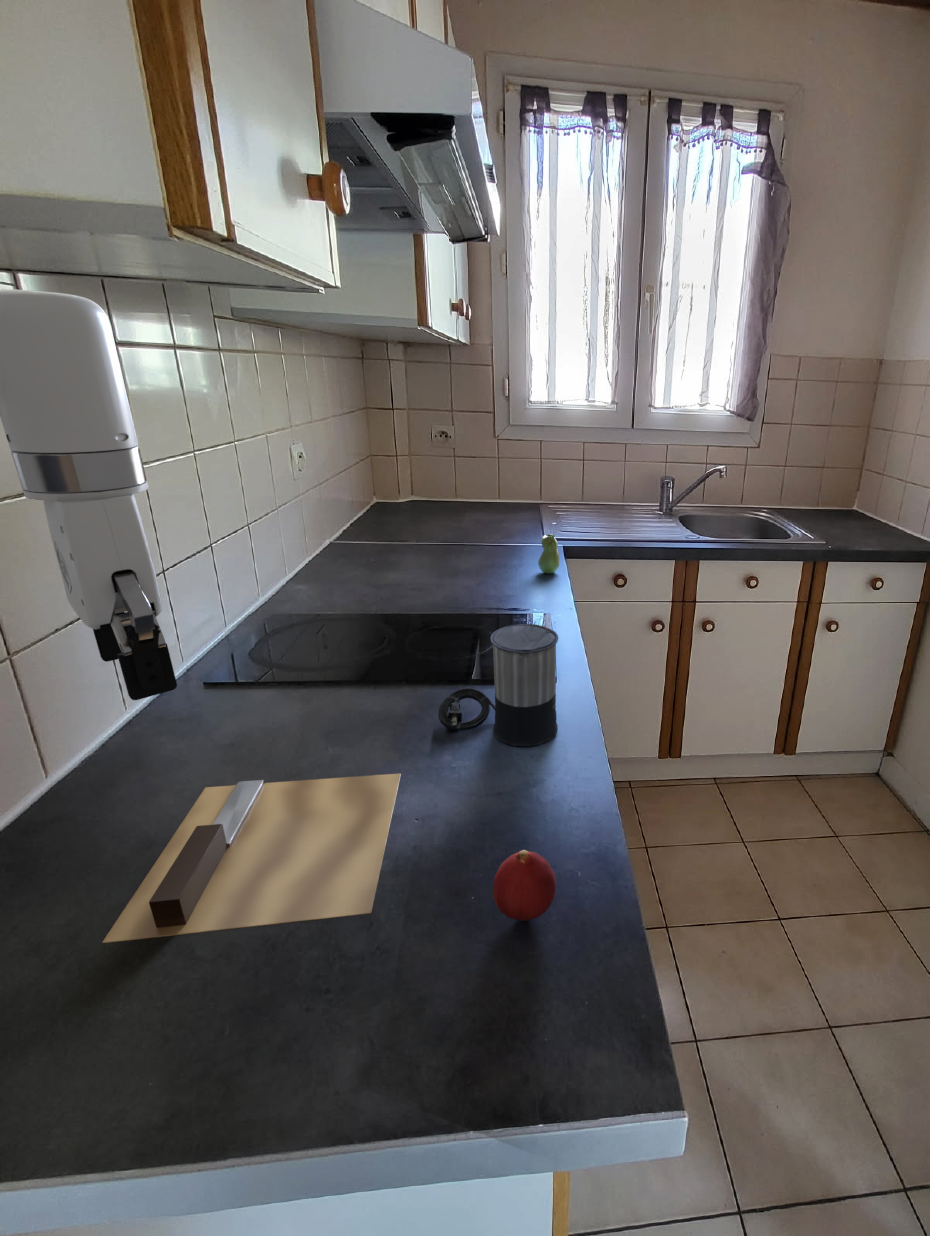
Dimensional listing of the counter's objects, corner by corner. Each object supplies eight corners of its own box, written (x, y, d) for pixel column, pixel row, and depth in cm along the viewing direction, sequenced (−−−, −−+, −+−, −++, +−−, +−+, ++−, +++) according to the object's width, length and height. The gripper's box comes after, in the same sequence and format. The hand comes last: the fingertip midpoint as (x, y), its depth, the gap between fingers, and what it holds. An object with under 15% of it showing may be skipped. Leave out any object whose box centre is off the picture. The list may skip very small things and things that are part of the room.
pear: (558, 576, 159) (558, 537, 156) (537, 575, 159) (537, 536, 156) (559, 570, 165) (560, 532, 161) (539, 569, 164) (539, 531, 161)
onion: (511, 887, 64) (509, 822, 61) (564, 901, 63) (565, 836, 60) (483, 931, 59) (480, 863, 56) (541, 949, 58) (540, 879, 55)
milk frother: (567, 740, 90) (568, 644, 84) (454, 764, 83) (448, 662, 78) (535, 695, 102) (534, 608, 96) (434, 713, 95) (427, 621, 90)
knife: (188, 924, 57) (181, 898, 56) (153, 928, 56) (145, 902, 55) (264, 782, 76) (260, 761, 75) (238, 784, 75) (234, 763, 74)
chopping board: (105, 955, 55) (100, 943, 55) (207, 797, 75) (205, 787, 75) (372, 925, 59) (371, 913, 59) (402, 783, 79) (401, 772, 79)
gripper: (3, 462, 51) (63, 655, 58) (38, 495, 41) (108, 728, 47) (117, 456, 57) (161, 633, 63) (175, 483, 46) (221, 694, 52)
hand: (138, 674), depth 55 cm, fingers open, 9 cm apart
